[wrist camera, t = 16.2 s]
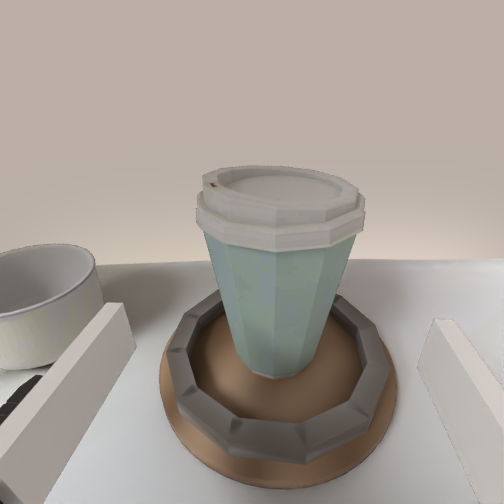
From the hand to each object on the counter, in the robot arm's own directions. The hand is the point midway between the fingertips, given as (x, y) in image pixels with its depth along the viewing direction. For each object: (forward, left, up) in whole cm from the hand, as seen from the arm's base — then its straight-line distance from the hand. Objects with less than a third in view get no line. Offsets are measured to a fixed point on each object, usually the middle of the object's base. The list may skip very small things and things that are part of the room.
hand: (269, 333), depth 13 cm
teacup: (-22, +7, -11) cm, 26 cm away
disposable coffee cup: (0, +8, -10) cm, 13 cm away
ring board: (0, +8, -11) cm, 14 cm away
